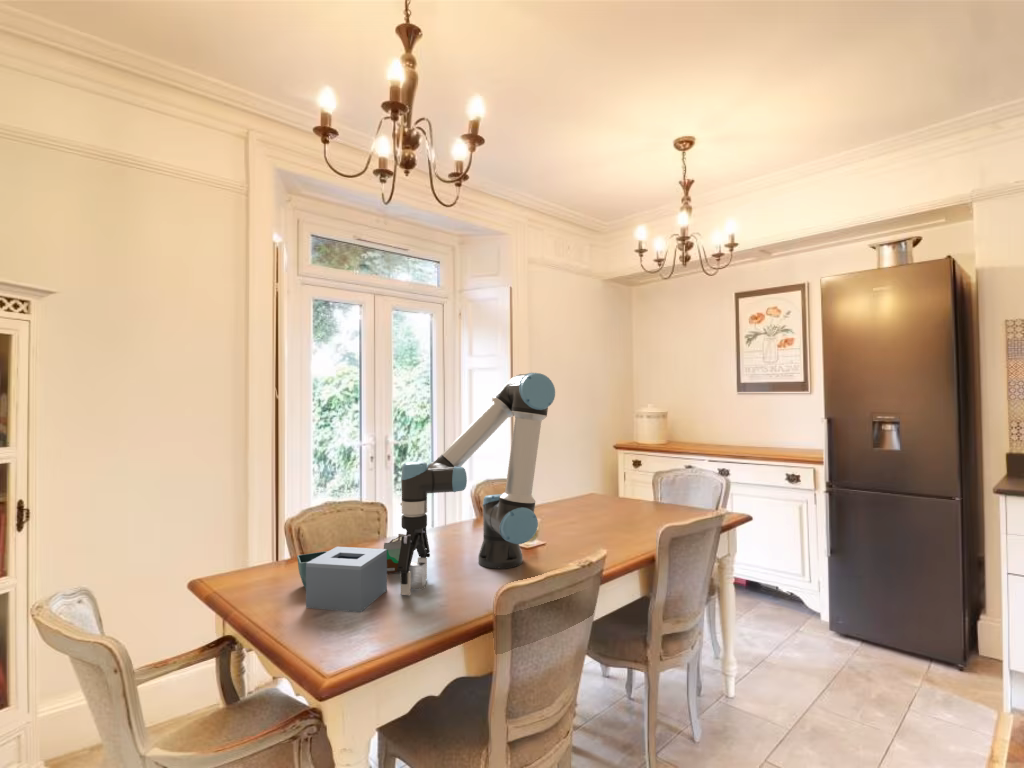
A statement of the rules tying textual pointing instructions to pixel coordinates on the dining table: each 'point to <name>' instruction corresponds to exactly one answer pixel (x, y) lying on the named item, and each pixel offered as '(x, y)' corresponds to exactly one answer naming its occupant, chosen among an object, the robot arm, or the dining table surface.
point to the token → (418, 575)
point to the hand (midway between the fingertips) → (414, 586)
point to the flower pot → (302, 564)
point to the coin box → (346, 578)
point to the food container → (393, 553)
